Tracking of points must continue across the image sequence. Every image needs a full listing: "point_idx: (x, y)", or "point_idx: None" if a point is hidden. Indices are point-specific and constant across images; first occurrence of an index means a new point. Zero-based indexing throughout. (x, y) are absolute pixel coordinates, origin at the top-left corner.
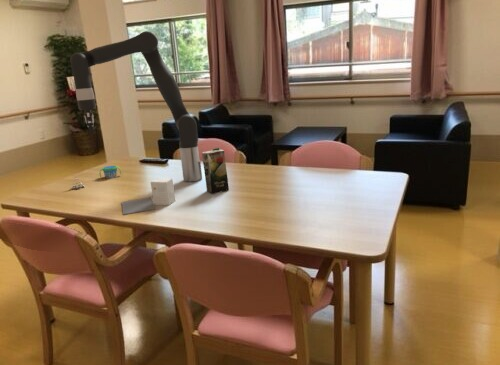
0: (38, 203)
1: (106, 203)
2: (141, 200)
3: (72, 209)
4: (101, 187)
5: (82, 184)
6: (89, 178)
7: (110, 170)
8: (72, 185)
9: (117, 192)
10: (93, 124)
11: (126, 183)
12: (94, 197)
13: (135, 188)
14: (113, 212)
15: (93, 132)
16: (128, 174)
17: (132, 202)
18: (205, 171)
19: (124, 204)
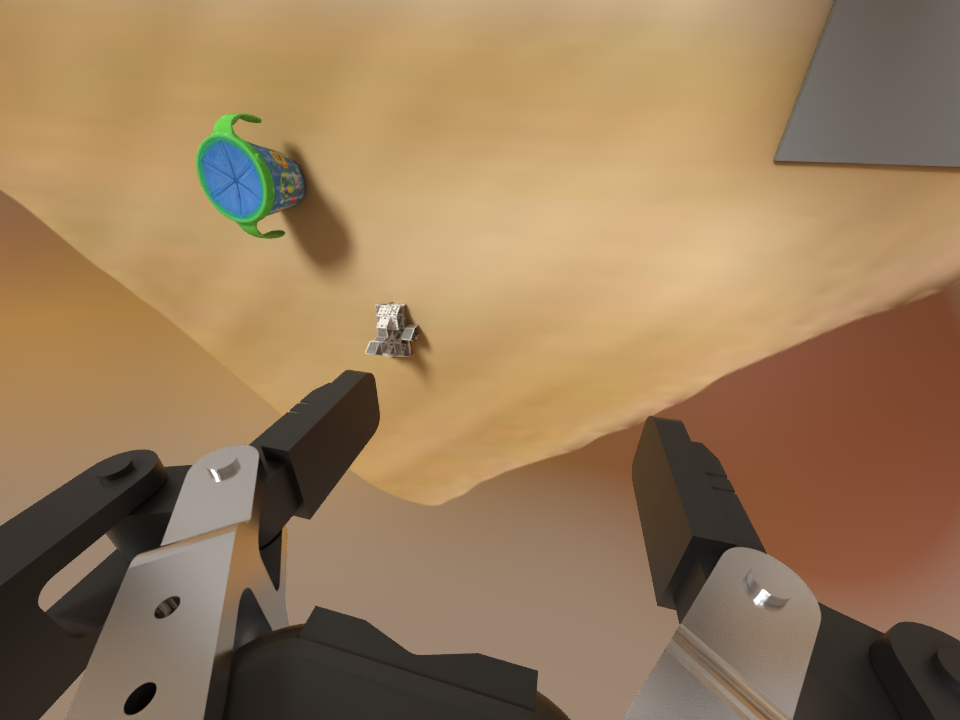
0: (495, 447)
1: (706, 238)
2: (875, 19)
3: (670, 370)
4: (399, 238)
5: (388, 319)
6: (228, 274)
7: (272, 179)
8: (386, 354)
9: (540, 167)
10: (251, 447)
11: (384, 100)
12: (553, 280)
13: (525, 46)
14: (917, 218)
15: (684, 450)
16: (197, 73)
17: (857, 91)
18: None
19: (847, 146)
